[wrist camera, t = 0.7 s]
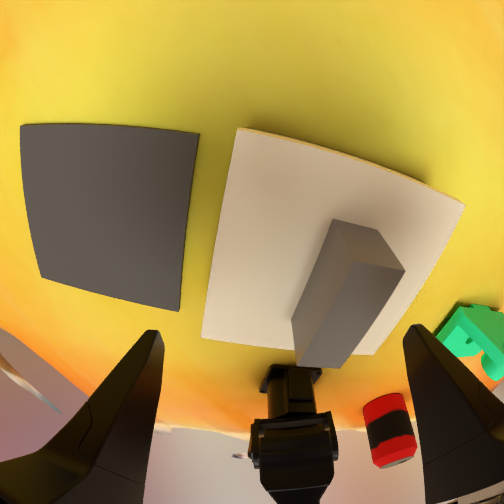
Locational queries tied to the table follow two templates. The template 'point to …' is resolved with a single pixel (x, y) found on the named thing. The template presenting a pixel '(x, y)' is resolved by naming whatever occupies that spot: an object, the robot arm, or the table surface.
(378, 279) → the lid
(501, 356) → the camera mount
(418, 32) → the table surface
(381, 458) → the soda can
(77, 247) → the rubber mat
